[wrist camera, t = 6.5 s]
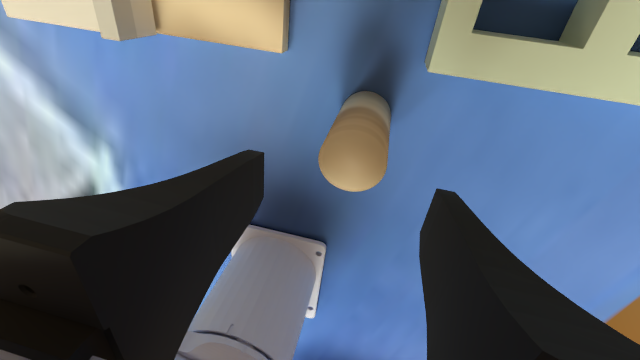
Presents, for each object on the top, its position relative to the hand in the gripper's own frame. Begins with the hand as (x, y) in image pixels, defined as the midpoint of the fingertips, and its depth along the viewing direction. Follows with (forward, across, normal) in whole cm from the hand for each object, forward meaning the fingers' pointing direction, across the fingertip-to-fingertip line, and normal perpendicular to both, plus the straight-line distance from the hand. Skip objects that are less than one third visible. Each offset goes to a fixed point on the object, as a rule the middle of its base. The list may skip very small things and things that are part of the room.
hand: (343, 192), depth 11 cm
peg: (+8, 0, 0) cm, 8 cm away
